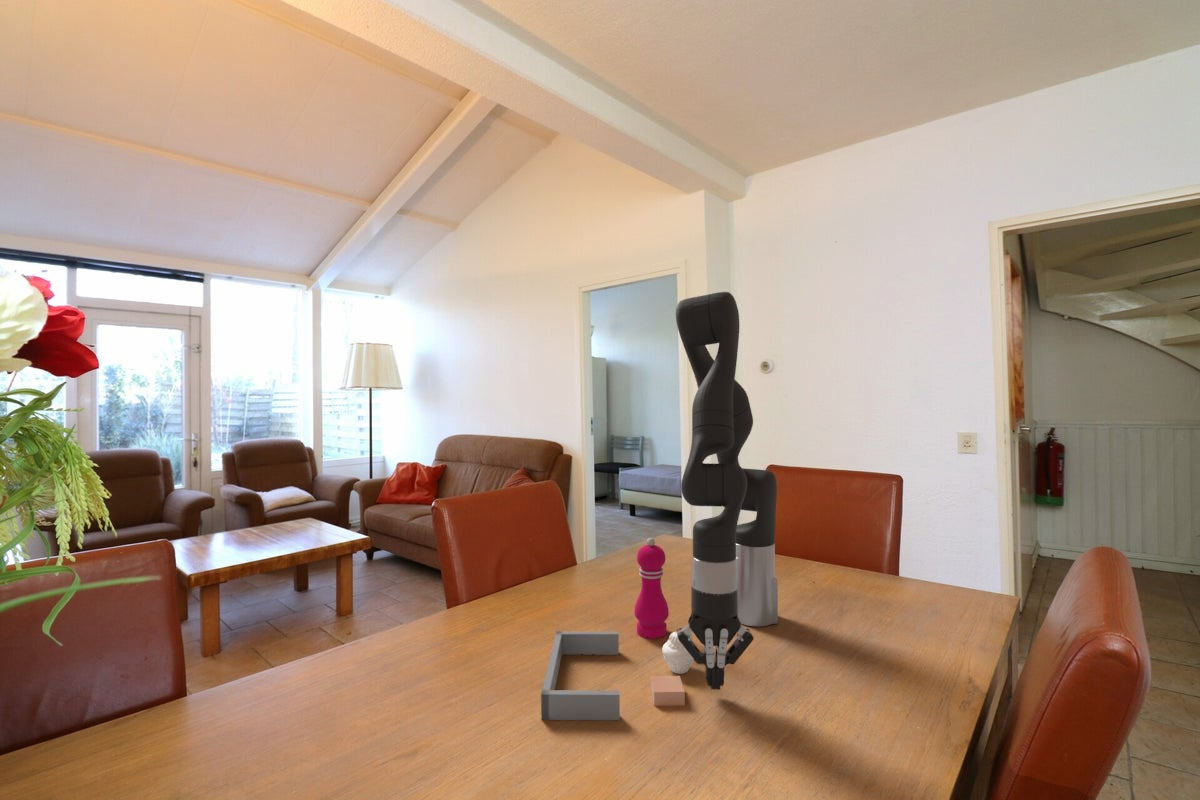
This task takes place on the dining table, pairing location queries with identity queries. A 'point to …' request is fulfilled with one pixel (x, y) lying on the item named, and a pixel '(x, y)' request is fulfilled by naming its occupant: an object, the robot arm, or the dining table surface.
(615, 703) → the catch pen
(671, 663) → the white rounded ceramic piece
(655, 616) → the pepper mill
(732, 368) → the robot arm
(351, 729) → the dining table surface
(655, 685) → the block
